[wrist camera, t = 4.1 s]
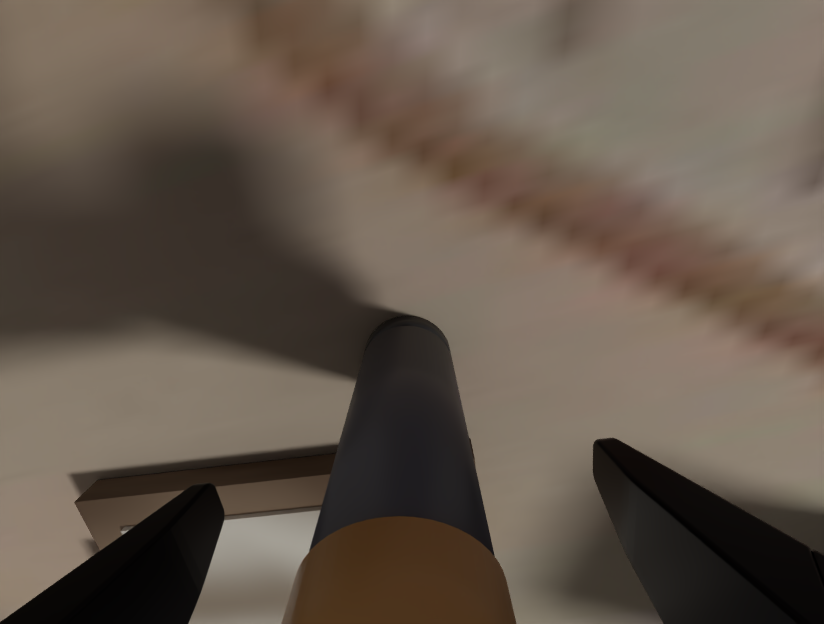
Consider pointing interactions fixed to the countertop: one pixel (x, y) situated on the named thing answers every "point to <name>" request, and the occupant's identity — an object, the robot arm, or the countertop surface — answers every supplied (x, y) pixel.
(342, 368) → the countertop surface
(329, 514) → the marker
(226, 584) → the clipboard
